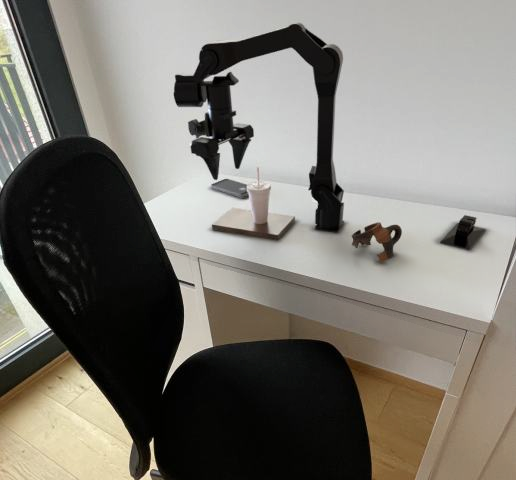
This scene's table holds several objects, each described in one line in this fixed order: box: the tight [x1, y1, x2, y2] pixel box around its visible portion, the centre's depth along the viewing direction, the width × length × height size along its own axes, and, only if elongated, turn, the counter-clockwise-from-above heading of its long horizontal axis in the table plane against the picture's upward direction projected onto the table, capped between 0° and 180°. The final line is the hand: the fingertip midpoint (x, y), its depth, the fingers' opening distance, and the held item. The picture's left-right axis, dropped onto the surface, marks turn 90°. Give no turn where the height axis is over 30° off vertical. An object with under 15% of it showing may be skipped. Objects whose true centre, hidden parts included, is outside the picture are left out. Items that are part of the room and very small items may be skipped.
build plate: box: [439, 214, 487, 251], centre depth 100 cm, size 12×7×5 cm, turn 141°
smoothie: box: [247, 166, 272, 224], centre depth 107 cm, size 6×6×14 cm
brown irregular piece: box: [351, 222, 403, 264], centre depth 96 cm, size 12×10×8 cm
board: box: [211, 207, 296, 241], centre depth 113 cm, size 20×12×2 cm, turn 65°
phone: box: [210, 178, 249, 199], centre depth 134 cm, size 8×1×16 cm
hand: (226, 174), depth 107 cm, fingers open, 9 cm apart
